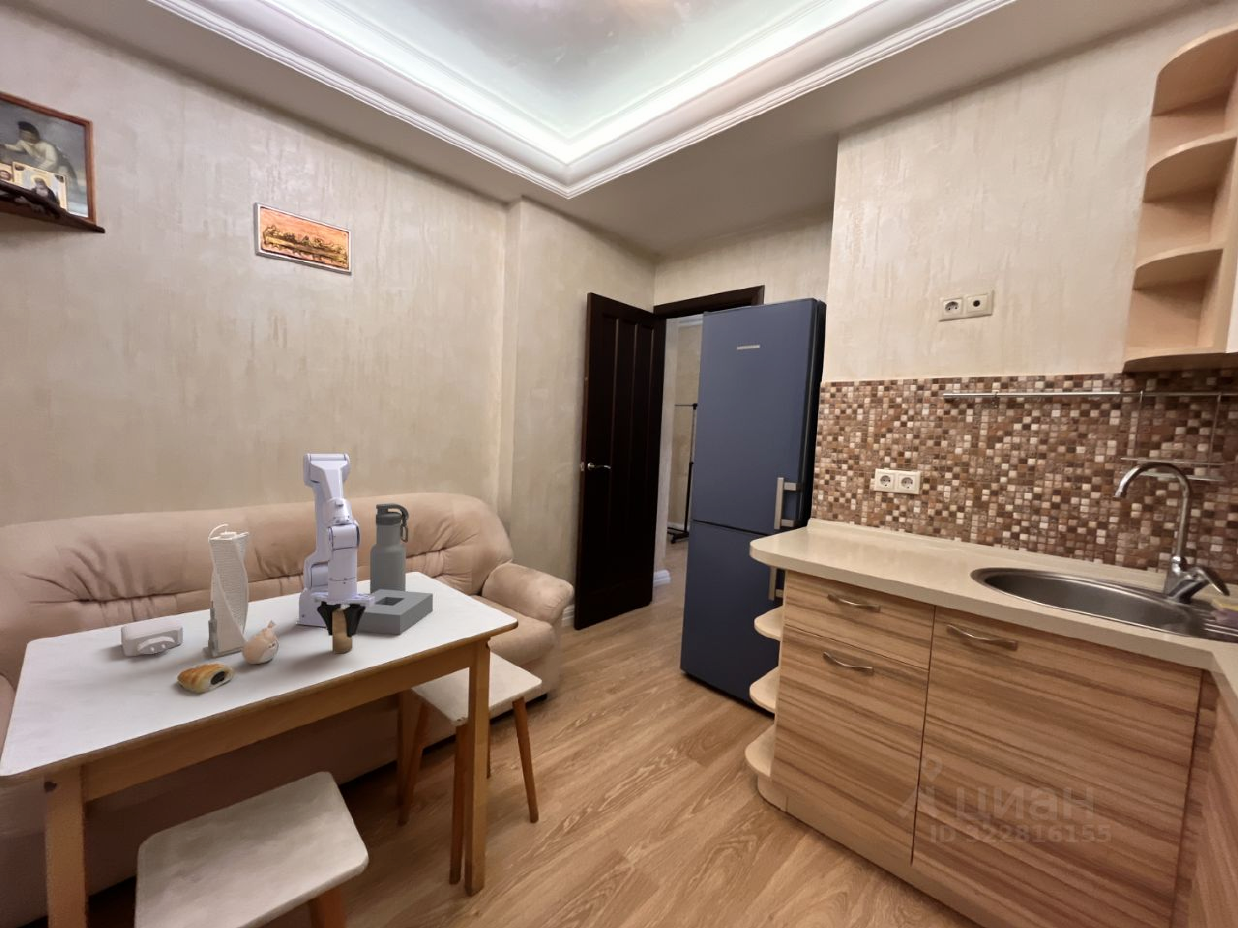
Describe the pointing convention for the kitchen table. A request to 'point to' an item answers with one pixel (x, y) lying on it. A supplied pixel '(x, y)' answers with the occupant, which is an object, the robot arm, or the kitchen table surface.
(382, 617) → the socket block
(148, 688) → the kitchen table surface
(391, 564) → the water bottle
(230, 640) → the skyscraper
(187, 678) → the pastry
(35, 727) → the kitchen table surface
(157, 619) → the charger
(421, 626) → the kitchen table surface
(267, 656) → the beige rounded figure
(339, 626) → the peg
